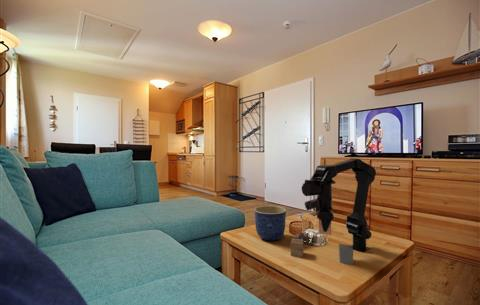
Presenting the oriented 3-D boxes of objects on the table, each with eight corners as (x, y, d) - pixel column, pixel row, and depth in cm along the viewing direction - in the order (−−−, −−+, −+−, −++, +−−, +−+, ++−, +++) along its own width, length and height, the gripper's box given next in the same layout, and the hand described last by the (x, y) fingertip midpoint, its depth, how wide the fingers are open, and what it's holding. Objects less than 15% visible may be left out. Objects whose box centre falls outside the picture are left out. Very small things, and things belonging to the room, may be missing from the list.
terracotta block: (319, 229, 103) (318, 216, 103) (330, 231, 101) (330, 217, 101) (318, 233, 98) (318, 219, 98) (331, 235, 97) (331, 221, 97)
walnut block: (292, 251, 106) (292, 238, 106) (303, 252, 104) (303, 239, 104) (290, 255, 101) (290, 242, 101) (302, 257, 100) (302, 243, 100)
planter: (248, 236, 125) (248, 208, 125) (271, 229, 135) (271, 204, 134) (268, 246, 111) (268, 215, 111) (293, 239, 120) (292, 210, 120)
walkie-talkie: (298, 233, 130) (291, 247, 111) (298, 225, 130) (291, 238, 111) (314, 235, 126) (310, 250, 108) (314, 227, 126) (310, 240, 108)
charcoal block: (339, 257, 99) (338, 243, 99) (351, 259, 98) (351, 245, 98) (339, 262, 95) (339, 248, 95) (353, 264, 93) (353, 250, 93)
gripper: (306, 189, 111) (307, 221, 111) (304, 197, 94) (304, 235, 94) (331, 190, 108) (331, 223, 108) (333, 199, 90) (333, 238, 90)
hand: (324, 229), depth 100 cm, fingers closed on terracotta block, 5 cm apart
